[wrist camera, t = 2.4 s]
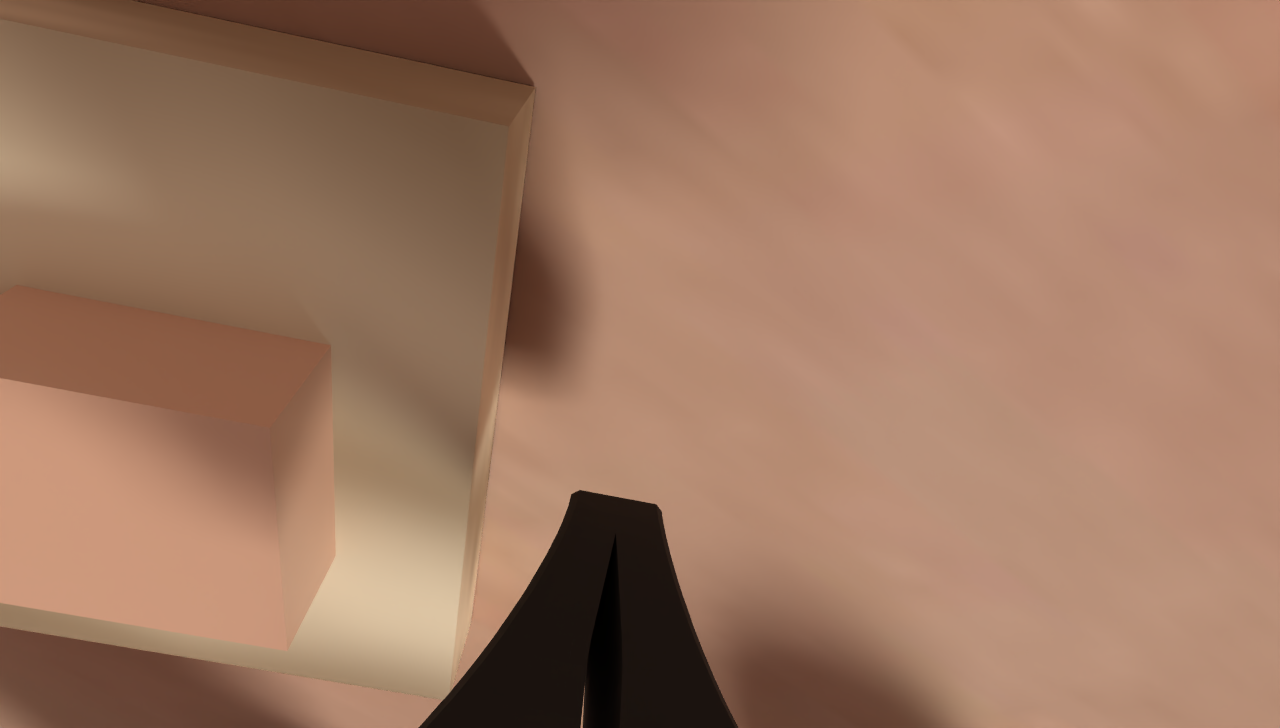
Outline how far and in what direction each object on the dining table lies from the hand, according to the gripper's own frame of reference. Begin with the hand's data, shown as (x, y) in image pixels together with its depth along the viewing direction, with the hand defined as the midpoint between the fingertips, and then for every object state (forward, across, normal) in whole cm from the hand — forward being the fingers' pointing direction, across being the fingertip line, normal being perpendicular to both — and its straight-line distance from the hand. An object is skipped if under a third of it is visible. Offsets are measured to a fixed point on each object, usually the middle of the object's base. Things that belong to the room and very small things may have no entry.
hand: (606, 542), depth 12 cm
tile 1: (+1, +7, 0) cm, 7 cm away
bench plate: (+3, +9, 0) cm, 9 cm away
